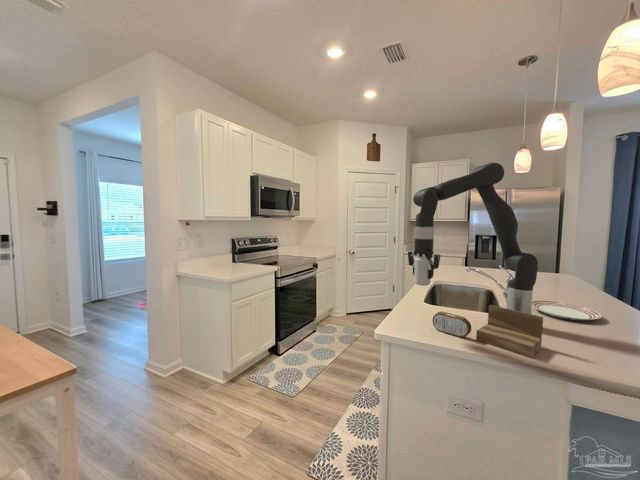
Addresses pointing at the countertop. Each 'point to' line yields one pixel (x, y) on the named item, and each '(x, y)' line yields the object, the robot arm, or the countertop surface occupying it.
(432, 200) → the robot arm
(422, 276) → the beverage can
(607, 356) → the countertop surface
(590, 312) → the dinner plate
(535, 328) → the walnut shelf
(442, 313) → the tin
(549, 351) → the countertop surface
